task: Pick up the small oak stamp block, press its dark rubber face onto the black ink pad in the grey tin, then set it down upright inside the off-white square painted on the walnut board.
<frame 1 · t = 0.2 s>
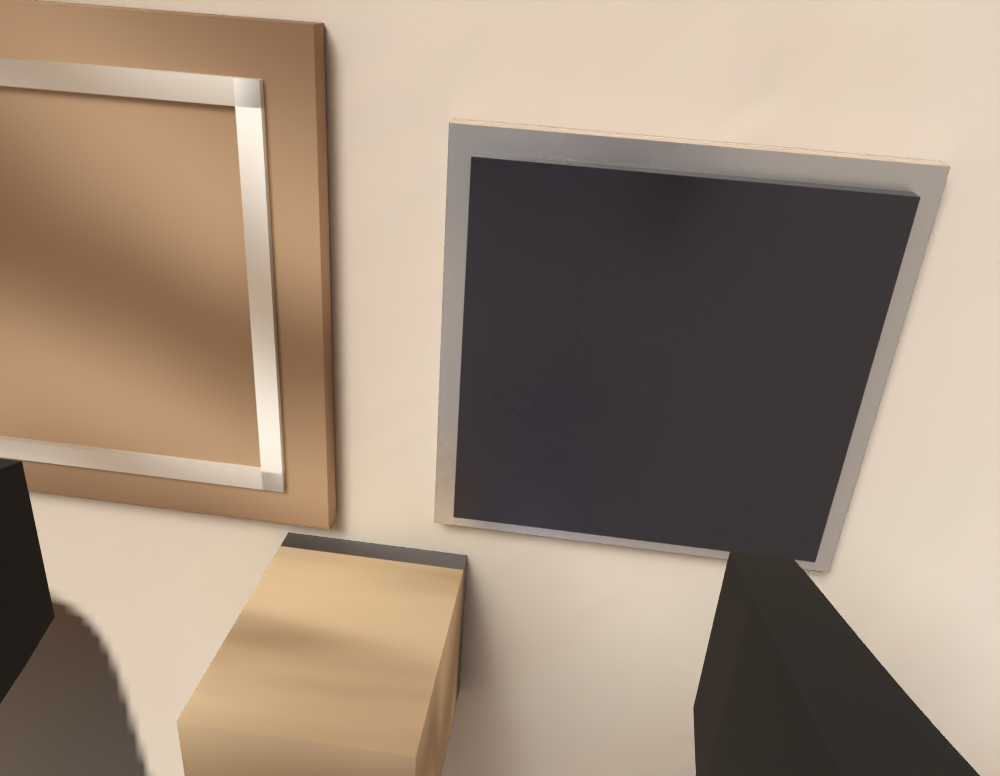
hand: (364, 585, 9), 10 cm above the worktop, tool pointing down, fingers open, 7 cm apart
ink pad: (655, 359, 18), on the worktop
stamp: (377, 613, 22), on the worktop
board: (86, 276, 18), on the worktop
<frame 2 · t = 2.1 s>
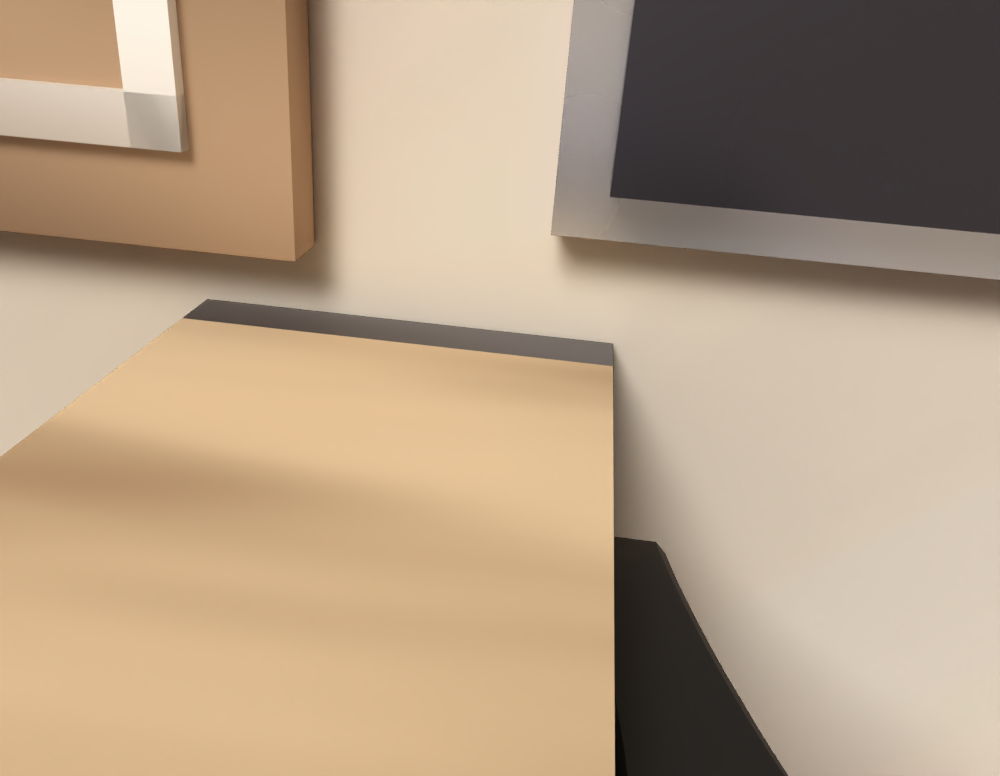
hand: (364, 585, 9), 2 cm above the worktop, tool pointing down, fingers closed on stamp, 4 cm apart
stamp: (402, 494, 10), on the worktop, touching gripper
when the fingers open (3 cm above the worktop, at t = 8.6 s): stamp stays where it is, resting on board.
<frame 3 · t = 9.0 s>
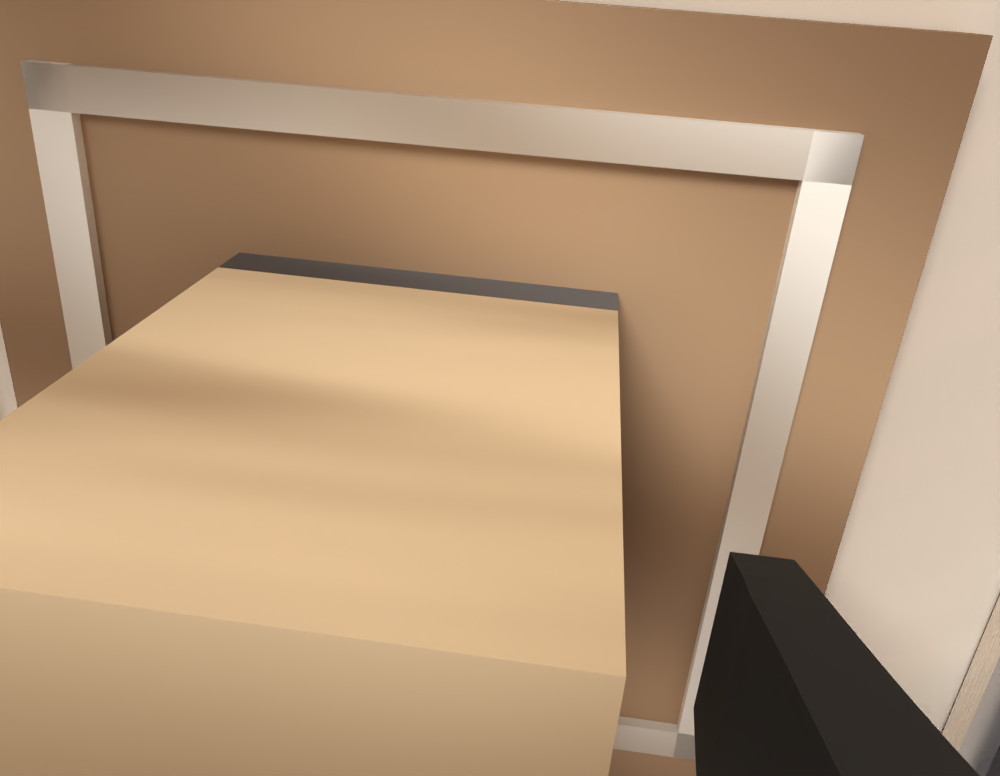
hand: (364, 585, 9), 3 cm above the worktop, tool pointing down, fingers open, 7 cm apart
stamp: (419, 439, 11), point 1 cm above the worktop, touching board
board: (426, 436, 11), on the worktop
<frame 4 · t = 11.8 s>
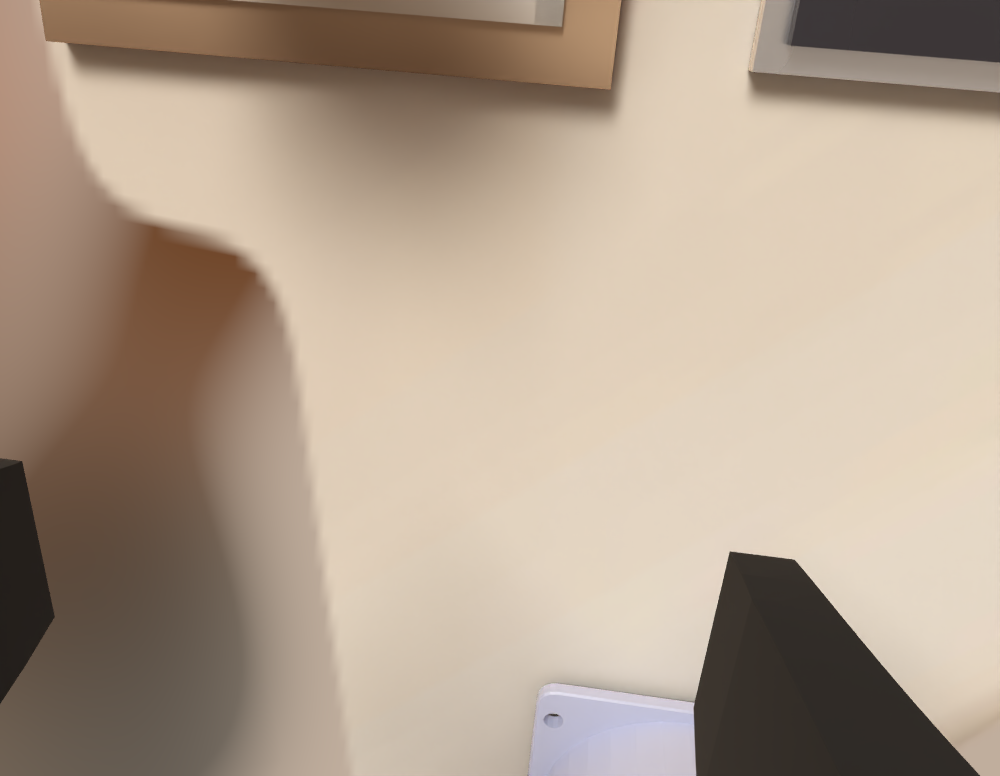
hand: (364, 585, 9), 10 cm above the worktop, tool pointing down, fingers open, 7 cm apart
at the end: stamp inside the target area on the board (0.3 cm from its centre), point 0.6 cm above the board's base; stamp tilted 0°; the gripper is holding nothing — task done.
